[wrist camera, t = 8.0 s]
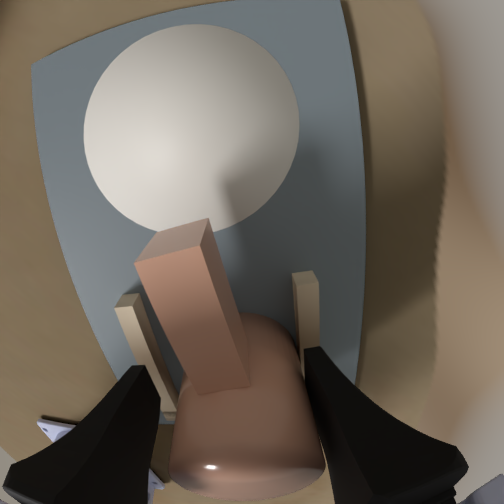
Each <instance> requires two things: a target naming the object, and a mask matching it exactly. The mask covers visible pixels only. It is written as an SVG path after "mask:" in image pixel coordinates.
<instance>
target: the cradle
mask: <svg viewBox="0 0 504 504" xmlns="http://www.w3.org/2000/svg"><path fill="white" fill-rule="evenodd" d="M292 284H293V297H294V312H295V327H296V344H297V353H298V357H299V361H300V365H301V369H302V372H303V376H304V349H305V348H311V347H316V346H320V316H319V282H318V280H317V278H316V276H315V274H314V272H313V271H312V270H311V271H304V272H297V273H292ZM114 309H115V312H116V314H117V317H118V319H119V322H120V324H121V327H122V329H123V332H124V334H125V336H126V339H127V341H128V343H129V346H130V348H131V350H132V352H133V355H134V357H135V359H136V361H137V363H138V365H145V366H146V368H147V370H148V372H149V374H150V376H151V379H152V381H153V383H154V385H155V387H156V389H157V391H158V393H159V395H160V397H161V406H160V409H161V411H162V413H163V415H164V416H165V418H166V420H167V421H175V418H176V412H177V405H178V400H179V395H178V392H177V390H176V388H175V386H174V383H173V381H172V379H171V376H170V374H169V372H168V369H167V367H166V364H165V362H164V359H163V357H162V354H161V352H160V349H159V347H158V344H157V341H156V339H155V336H154V333H153V331H152V328H151V325H150V322H149V320H148V317H147V314H146V311H145V308H144V305H143V302H142V299H141V296H140V293H135V294H125V295H122V296H121V297H120V299H119V301H118V302H117V304H116V305H115V307H114ZM304 380H305V378H304Z"/></svg>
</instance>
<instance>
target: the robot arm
mask: <svg viewBox="0 0 504 504" xmlns="http://www.w3.org/2000/svg"><path fill="white" fill-rule="evenodd" d="M304 378H305V384H306V388H307V392H308V395H309V399H310V403H311V407H312V411H313V415H314V419H315V423H316V427H317V431H318V434H319V437H320V440H321V443H322V446H323V449H324V453H325V456H326V460H327V464H328V469H329V474H330V479H331V484H332V489H333V495H334V500H335V504H456V501H455V499H454V496H455V495H456V491H455V489H454V487H453V486H454V485H455V484H456V483H457V482H458V481H459V480H460V479H461V478H462V477H463V476H464V475H465V474H466V473H467V470H468V468H469V466H468V464H467V462H466V461H465V458H464V457H463V455H462V454H461V452H460V451H459V450H458V448H457V447H456V446H454V445H450V444H448V443H445V442H442V441H439V440H437V439H434V438H432V437H429V436H428V435H425V434H423V433H421V432H419V431H417V430H415V429H414V428H412V427H410V426H408V425H407V424H405V423H403V422H401V421H400V420H398V419H396V418H395V417H393V416H392V415H390V414H389V413H387V412H386V411H385V410H383V409H382V408H381V407H379V406H378V405H377V404H375V403H374V402H373V401H372V400H370V399H369V398H368V397H367V396H366V395H365V394H364V393H362V392H361V391H360V390H359V389H358V388H357V387H356V386H355V385H354V384H353V383H352V382H351V381H350V380H349V379H348V378H347V377H346V376H345V375H344V374H343V373H342V372H341V370H340V369H339V368H338V367H337V366H336V365H335V364H334V362H333V361H332V360H331V359H330V358H329V356H328V355H327V354H326V352H325V351H324V350H323V348H322V347H320V346H316V347H311V348H305V349H304ZM160 406H161V397H160V395H159V393H158V391H157V389H156V387H155V385H154V383H153V381H152V379H151V376H150V374H149V372H148V370H147V368H146V366H145V365H132V366H131V367H130V368H129V369H128V370H127V371H126V372H125V373H124V375H123V376H122V377H121V378H120V379H119V381H118V382H117V383H116V384H115V385H114V386H113V388H112V389H111V390H110V391H109V392H108V393H107V395H106V396H105V397H104V398H103V399H102V400H101V401H100V402H99V403H98V404H97V406H96V407H95V408H94V409H93V410H92V411H91V412H90V413H89V414H88V415H87V416H86V417H85V418H84V419H83V420H82V421H81V422H80V423H79V424H77V425H71V424H65V423H59V422H54V421H49V420H44V419H38V421H37V424H38V426H39V427H40V428H41V429H42V430H43V431H44V432H45V434H46V435H47V436H48V437H49V438H50V439H51V440H52V441H53V442H54V443H53V444H51V445H50V446H48V447H46V448H45V449H43V450H41V451H40V452H38V453H36V454H34V455H32V456H30V457H28V458H26V459H23V460H21V461H19V462H16V463H14V464H12V465H11V466H10V469H9V471H8V474H7V476H6V478H5V481H4V484H3V486H2V487H3V489H4V491H6V492H7V493H8V494H9V495H10V496H11V497H13V498H14V499H15V500H17V501H18V502H20V503H21V504H152V503H153V496H154V489H164V488H165V485H164V483H163V482H162V481H161V480H160V479H159V478H158V477H157V476H156V475H155V474H154V473H153V471H152V470H151V469H150V462H151V457H152V452H153V447H154V443H155V438H156V433H157V429H158V424H159V418H160ZM0 504H8V503H6V502H4V501H2V500H1V499H0ZM458 504H504V475H503V474H500V475H498V476H497V477H495V478H494V479H492V480H491V481H489V482H488V483H486V484H485V485H483V486H481V487H480V488H478V489H477V490H475V491H474V492H473V493H471V494H470V495H469V496H468V497H467V498H466V499H465V500H464V501H462V502H460V503H458Z"/></svg>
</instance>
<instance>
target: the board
mask: <svg viewBox="0 0 504 504" xmlns="http://www.w3.org/2000/svg"><path fill="white" fill-rule="evenodd" d="M31 73H32V96H33V109H34V119H35V128H36V136H37V143H38V150H39V156H40V162H41V168H42V173H43V178H44V183H45V188H46V192H47V197H48V201H49V205H50V209H51V213H52V217H53V221H54V224H55V228H56V231H57V235H58V238H59V242H60V245H61V248H62V251H63V254H64V257H65V260H66V263H67V266H68V269H69V272H70V275H71V278H72V280H73V283H74V286H75V288H76V291H77V294H78V296H79V299H80V301H81V304H82V306H83V309H84V311H85V313H86V316H87V318H88V320H89V323H90V325H91V327H92V329H93V332H94V334H95V336H96V338H97V340H98V342H99V344H100V347H101V349H102V351H103V353H104V355H105V357H106V359H107V361H108V363H109V365H110V366H111V368H112V370H113V372H114V374H115V376H116V378H117V380H118V381H119V379H120V378H121V377H122V376H123V375H124V373H125V372H126V371H127V370H128V369H129V368H130V367H131V366H132V365H138V363H137V361H136V359H135V357H134V355H133V352H132V350H131V348H130V346H129V343H128V341H127V339H126V336H125V334H124V332H123V329H122V327H121V324H120V322H119V319H118V317H117V314H116V312H115V309H114V307H115V305H116V304H117V302H118V301H119V299H120V297H121V296H122V295H125V294H135V293H140V296H141V299H142V302H143V305H144V308H145V311H146V314H147V317H148V320H149V322H150V325H151V328H152V331H153V333H154V336H155V339H156V341H157V344H158V347H159V349H160V352H161V354H162V357H163V359H164V362H165V364H166V367H167V369H168V372H169V374H170V376H171V379H172V381H173V383H174V386H175V388H176V390H177V392H178V395H179V394H180V388H181V382H182V376H183V371H184V369H183V367H182V365H181V363H180V361H179V359H178V357H177V355H176V354H175V352H174V350H173V348H172V346H171V344H170V342H169V340H168V338H167V336H166V334H165V332H164V330H163V328H162V326H161V323H160V321H159V319H158V317H157V315H156V313H155V311H154V309H153V306H152V304H151V302H150V300H149V298H148V295H147V293H146V291H145V289H144V286H143V284H142V282H141V279H140V277H139V275H138V272H137V270H136V267H135V265H134V262H135V260H136V259H137V258H138V256H139V255H140V254H141V252H142V251H143V250H144V248H145V247H146V246H147V244H148V243H149V242H150V240H151V239H152V238H153V236H154V235H155V234H156V232H159V231H162V230H166V229H169V228H173V227H176V226H180V225H184V224H187V223H191V222H194V221H198V220H202V219H205V218H209V221H210V224H211V227H212V230H213V234H214V237H215V240H216V243H217V247H218V250H219V253H220V256H221V260H222V263H223V266H224V269H225V272H226V275H227V279H228V282H229V285H230V288H231V291H232V294H233V297H234V300H235V303H236V306H237V309H238V312H239V313H240V312H244V313H255V314H260V315H263V316H266V317H269V318H271V319H273V320H275V321H277V322H279V323H280V324H281V325H283V326H284V327H285V328H286V329H287V330H288V331H289V333H290V334H291V336H292V338H293V340H294V343H295V346H296V350H297V344H296V327H295V312H294V297H293V284H292V273H297V272H304V271H311V270H312V271H313V272H314V274H315V276H316V278H317V280H318V282H319V316H320V347H322V348H323V350H324V351H325V352H326V354H327V355H328V356H329V358H330V359H331V360H332V361H333V362H334V364H335V365H336V366H337V367H338V368H339V369H340V370H341V372H342V373H343V374H344V375H345V376H346V377H347V378H348V379H349V380H350V381H351V382H352V383H353V384H354V385H355V379H356V372H357V364H358V356H359V348H360V338H361V328H362V316H363V302H364V286H365V261H366V197H365V172H364V156H363V142H362V131H361V121H360V111H359V103H358V95H357V87H356V80H355V74H354V67H353V61H352V56H351V50H350V45H349V39H348V34H347V29H346V25H345V20H344V16H343V11H342V7H341V3H340V0H235V1H226V2H219V3H212V4H205V5H199V6H194V7H189V8H183V9H179V10H174V11H170V12H165V13H161V14H157V15H154V16H150V17H146V18H143V19H139V20H136V21H132V22H129V23H126V24H123V25H120V26H117V27H114V28H111V29H108V30H106V31H103V32H100V33H98V34H95V35H93V36H90V37H88V38H85V39H83V40H80V41H78V42H76V43H74V44H71V45H69V46H67V47H65V48H63V49H61V50H58V51H56V52H54V53H52V54H50V55H48V56H46V57H44V58H43V59H41V60H39V61H37V62H35V63H33V64H32V65H31ZM159 424H175V421H167V420H166V418H165V416H164V415H163V413H162V411H161V409H160V418H159Z"/></svg>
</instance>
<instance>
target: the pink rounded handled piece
mask: <svg viewBox="0 0 504 504" xmlns="http://www.w3.org/2000/svg"><path fill="white" fill-rule="evenodd" d="M134 265H135V267H136V270H137V272H138V275H139V277H140V279H141V282H142V284H143V286H144V289H145V291H146V293H147V295H148V298H149V300H150V302H151V304H152V306H153V309H154V311H155V313H156V315H157V317H158V319H159V321H160V323H161V326H162V328H163V330H164V332H165V334H166V336H167V338H168V340H169V342H170V344H171V346H172V348H173V350H174V352H175V354H176V355H177V357H178V359H179V361H180V363H181V365H182V367H183V369H184V371H183V376H182V382H181V388H180V394H179V400H178V405H177V412H176V418H175V424H174V430H173V437H172V444H171V451H170V458H169V465H168V472H169V475H170V477H171V478H172V479H173V480H174V481H175V482H176V483H177V484H178V485H180V486H181V487H183V488H185V489H187V490H189V491H191V492H194V493H196V494H199V495H203V496H206V497H211V498H216V499H222V500H233V501H253V500H264V499H270V498H275V497H280V496H284V495H287V494H290V493H293V492H296V491H298V490H301V489H303V488H305V487H307V486H309V485H310V484H312V483H313V482H315V481H316V480H317V479H318V478H319V477H320V476H321V475H322V474H323V472H324V470H325V467H326V463H325V459H324V455H323V451H322V447H321V443H320V439H319V435H318V431H317V427H316V423H315V419H314V415H313V411H312V407H311V403H310V399H309V395H308V392H307V388H306V384H305V380H304V376H303V372H302V369H301V365H300V361H299V357H298V353H297V350H296V346H295V343H294V340H293V338H292V336H291V334H290V333H289V331H288V330H287V329H286V328H285V327H284V326H283V325H281V324H280V323H279V322H277V321H275V320H273V319H271V318H269V317H266V316H263V315H260V314H255V313H244V312H240V313H239V312H238V309H237V306H236V303H235V300H234V297H233V294H232V291H231V288H230V285H229V282H228V279H227V275H226V272H225V269H224V266H223V263H222V260H221V256H220V253H219V250H218V247H217V243H216V240H215V237H214V234H213V230H212V227H211V224H210V221H209V218H205V219H202V220H198V221H194V222H191V223H187V224H184V225H180V226H176V227H173V228H169V229H166V230H162V231H159V232H156V234H155V235H154V236H153V238H152V239H151V240H150V242H149V243H148V244H147V246H146V247H145V248H144V250H143V251H142V252H141V254H140V255H139V256H138V258H137V259H136V260H135V262H134Z"/></svg>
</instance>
